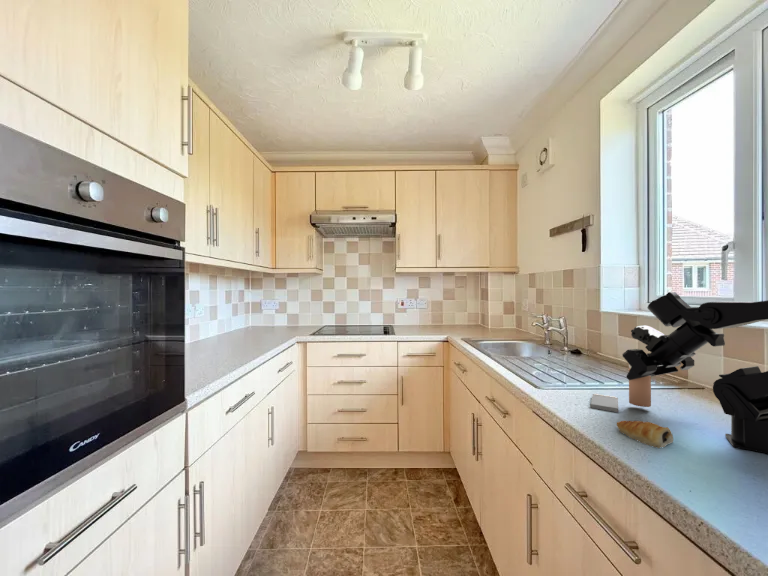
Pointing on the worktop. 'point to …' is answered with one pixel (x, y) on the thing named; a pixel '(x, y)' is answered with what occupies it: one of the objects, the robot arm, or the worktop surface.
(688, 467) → the worktop surface
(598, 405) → the pad
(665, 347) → the robot arm
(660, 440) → the pastry
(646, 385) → the stub
